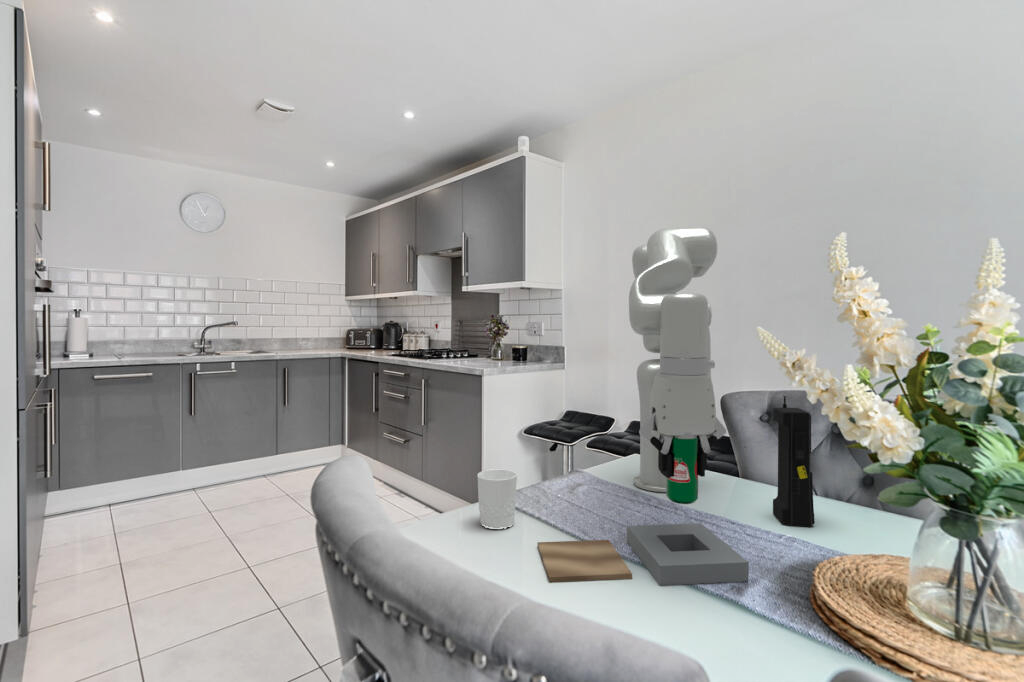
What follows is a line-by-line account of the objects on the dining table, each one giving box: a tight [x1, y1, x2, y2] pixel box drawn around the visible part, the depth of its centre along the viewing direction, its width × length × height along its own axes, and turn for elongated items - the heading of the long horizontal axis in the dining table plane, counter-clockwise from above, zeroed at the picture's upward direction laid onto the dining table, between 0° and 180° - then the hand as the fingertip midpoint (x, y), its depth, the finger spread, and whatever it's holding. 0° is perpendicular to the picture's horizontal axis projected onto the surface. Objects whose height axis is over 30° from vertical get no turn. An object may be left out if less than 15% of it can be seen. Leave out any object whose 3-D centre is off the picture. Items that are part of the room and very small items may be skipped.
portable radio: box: [772, 395, 816, 528], centre depth 103 cm, size 8×6×25 cm
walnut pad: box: [537, 539, 633, 583], centre depth 85 cm, size 13×13×1 cm
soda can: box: [665, 433, 699, 505], centre depth 86 cm, size 5×5×12 cm
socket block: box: [626, 522, 750, 586], centre depth 85 cm, size 16×14×3 cm
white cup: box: [477, 468, 518, 528], centre depth 102 cm, size 8×8×10 cm
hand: (682, 473), depth 86 cm, fingers closed on soda can, 5 cm apart
